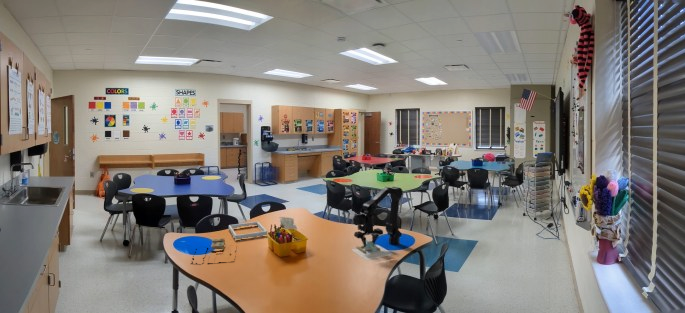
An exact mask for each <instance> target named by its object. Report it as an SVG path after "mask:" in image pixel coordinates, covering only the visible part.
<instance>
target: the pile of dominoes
mask: <svg viewBox="0 0 685 313" xmlns="http://www.w3.org/2000/svg"><path fill="white" fill-rule="evenodd" d="M211 242H212V243H211V246H210V250H211V249H224V250H225V248H224V245H225V246H226V239H225V238H223V237H222V238H214V239H212V240H211Z"/></svg>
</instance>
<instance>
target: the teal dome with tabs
mask: <svg viewBox="0 0 685 313" xmlns="http://www.w3.org/2000/svg"><path fill="white" fill-rule="evenodd" d="M375 245H376V244H373V241H372V240H367V239H366V246H365V247H364V249H365V250H368V251H370V250H373V251H374V250H377V246H375Z"/></svg>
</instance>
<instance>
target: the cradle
mask: <svg viewBox="0 0 685 313" xmlns="http://www.w3.org/2000/svg"><path fill="white" fill-rule="evenodd" d="M362 248H364V245H363V244H362V245H359V246H356V248H355V249H358V250H360V251H361V252H363V253H366V251H365V250H363V249H362ZM377 250H378V251H380V248H378V247H377Z"/></svg>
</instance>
